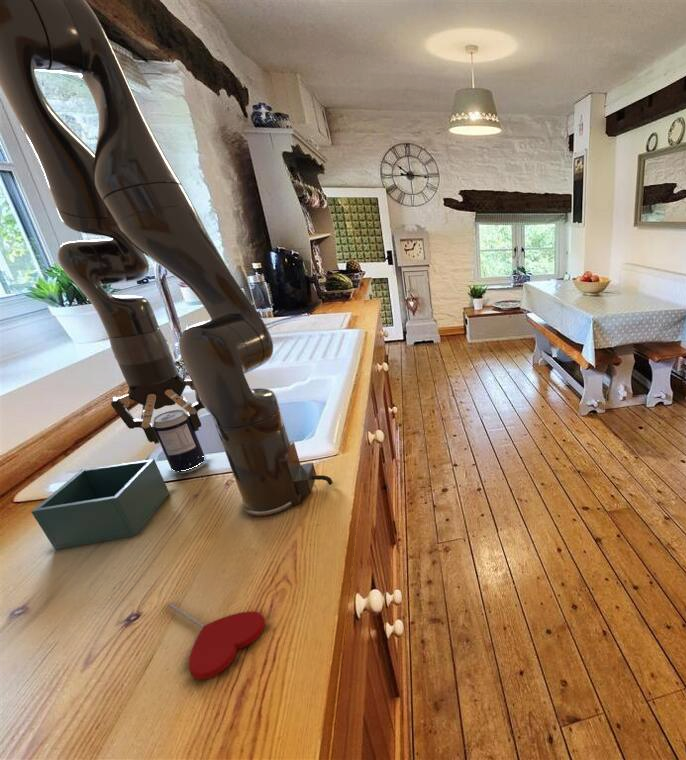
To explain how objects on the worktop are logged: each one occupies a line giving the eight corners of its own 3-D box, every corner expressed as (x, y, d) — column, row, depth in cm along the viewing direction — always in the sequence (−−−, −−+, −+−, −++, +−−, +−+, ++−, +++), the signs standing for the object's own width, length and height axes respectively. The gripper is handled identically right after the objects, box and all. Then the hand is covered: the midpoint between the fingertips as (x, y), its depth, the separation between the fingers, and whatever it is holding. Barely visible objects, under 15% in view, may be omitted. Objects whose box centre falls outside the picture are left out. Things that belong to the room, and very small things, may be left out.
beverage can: (213, 459, 86) (193, 409, 81) (191, 476, 81) (169, 423, 76) (188, 458, 87) (168, 408, 82) (165, 475, 82) (142, 422, 77)
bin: (169, 493, 76) (154, 458, 73) (136, 535, 66) (116, 498, 63) (100, 504, 74) (81, 469, 71) (54, 549, 64) (30, 511, 61)
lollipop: (133, 634, 51) (207, 688, 44) (130, 629, 50) (204, 683, 44) (202, 582, 57) (274, 623, 51) (199, 578, 57) (272, 618, 51)
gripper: (90, 372, 67) (131, 458, 74) (195, 350, 76) (223, 428, 83) (90, 361, 72) (128, 443, 79) (188, 342, 81) (215, 416, 88)
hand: (177, 435), depth 81 cm, fingers closed on beverage can, 5 cm apart
